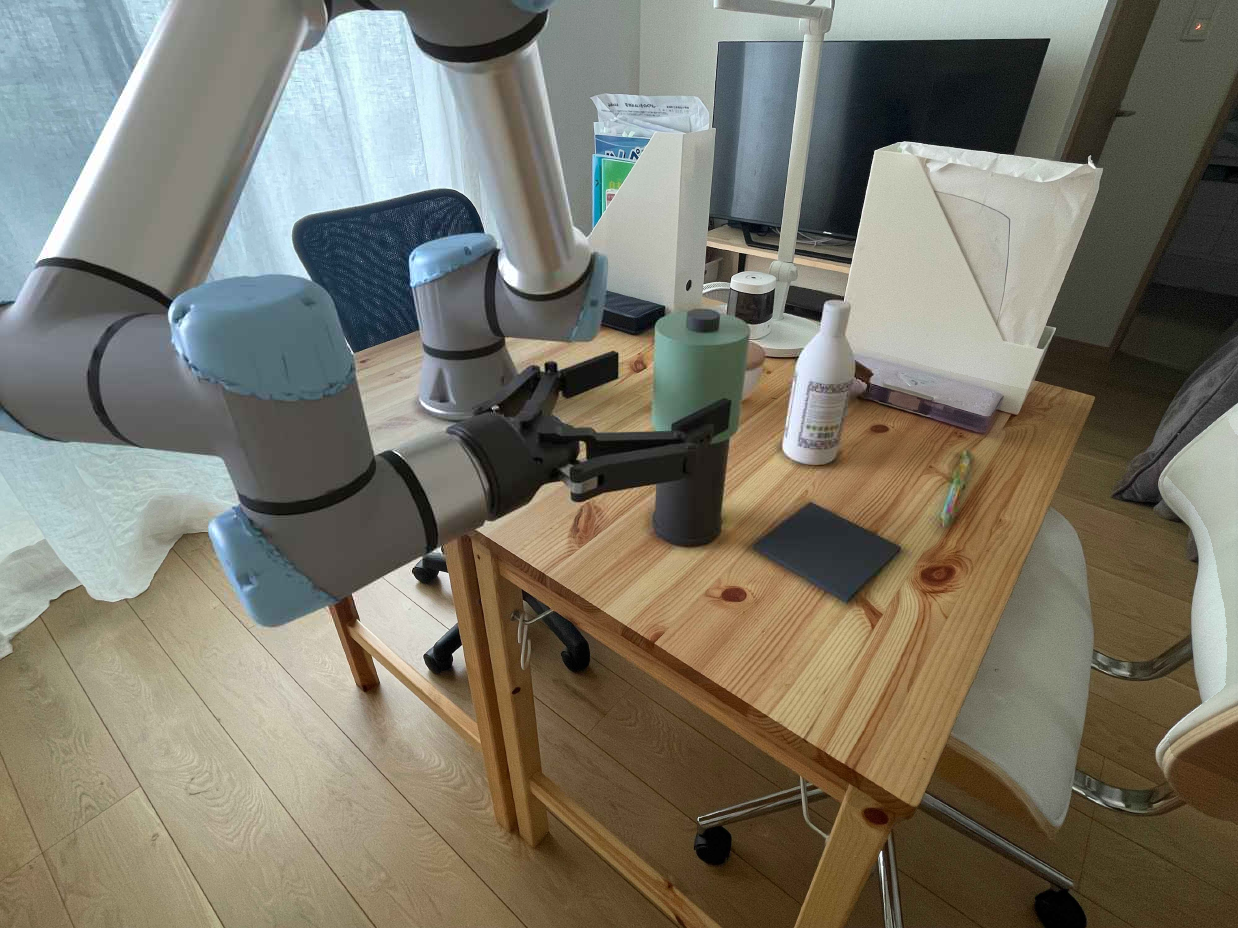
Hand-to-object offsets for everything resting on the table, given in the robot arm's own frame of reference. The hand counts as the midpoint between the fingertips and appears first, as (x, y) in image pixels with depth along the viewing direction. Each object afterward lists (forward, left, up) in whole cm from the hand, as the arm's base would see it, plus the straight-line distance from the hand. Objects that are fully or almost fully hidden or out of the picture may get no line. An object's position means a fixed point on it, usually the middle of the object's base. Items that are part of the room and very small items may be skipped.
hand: (667, 387), depth 57 cm
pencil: (+6, +37, -18) cm, 41 cm away
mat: (+8, +16, -18) cm, 25 cm away
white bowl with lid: (-26, +24, -19) cm, 40 cm away
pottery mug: (-19, +39, -19) cm, 48 cm away
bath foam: (-8, +26, -19) cm, 33 cm away
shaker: (-1, +4, -18) cm, 19 cm away
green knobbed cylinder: (-1, +4, -5) cm, 7 cm away
